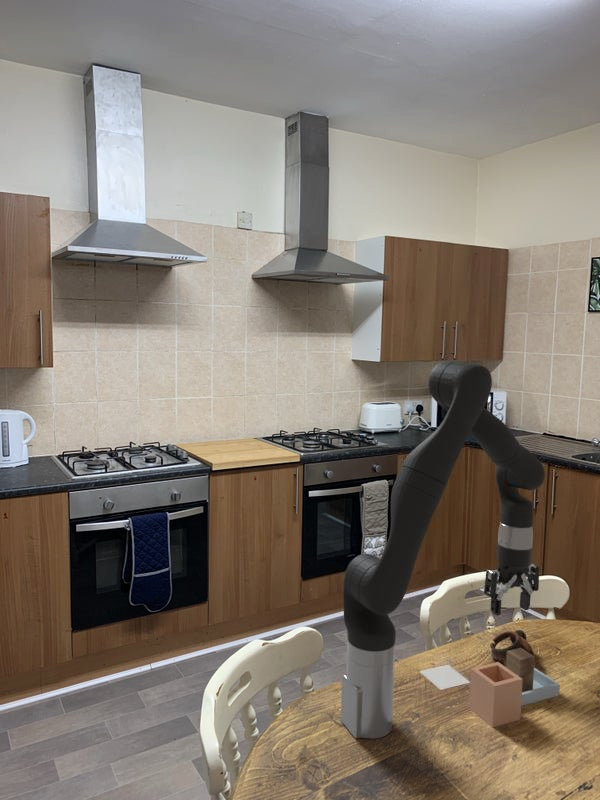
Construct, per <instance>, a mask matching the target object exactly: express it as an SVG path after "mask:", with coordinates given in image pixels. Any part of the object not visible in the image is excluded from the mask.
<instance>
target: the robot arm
mask: <svg viewBox="0 0 600 800" xmlns="http://www.w3.org/2000/svg"><path fill="white" fill-rule="evenodd" d="M429 374H430V375H429V377H428V390H429V393H430V395H431V397H432V399H433V400H434V401H435V402H436V404H438V405H439V406H441V407H442V408H443V409H444V411H446V415H445V416H444V418H443V420H442V422H441V423H440V424H439V426H438V427H437V428H436V429H435V430H434V431H433V432H432V433H431V434H430V435H429V436H428V437H426V439H424V440H423V441H422V442H421V443H420V444H419V445H417V446H416V447H414V448H413V450H411V452H409V454H408V455H407V456H406V457H405V459H404V461H403V463H402V464H401V467H400V469H399V471H398V474H397V475H396V479H395V480H394V483H393V485H392V489H391V493H390V495H391V496H390V531H389V534H388V535H389V536H388V539H387V542H386V546H385V547H384V549H383V553H382V555H381V557H378V556H376V555H374V554H370V553H362V554H359V555H357V556H355V557H354V558H353V559H352V560H351V561H350V562H349V563H348V565H347V568H346V569H345V573H344V578H343V584H342V585H343V587H342V588H343V597H342V598H343V601H342V602H343V620H344V625H345V627H346V628H345V629H346V631H347V639H346V642H347V644H346V645H347V646H346V670H345V671H346V673H344V674H342V676H341V697H340V699H341V703H340V704H341V705H340V706H341V708H340V722H342V724H343V725H344V726H345V728H346V729H347V730H348V731H349V733H350V734H351V735H352V736H353V738H354V739H359V738H364V739H371V740H372V739H373V740H375V739H379V738H384V737H385V736H387V735H389V733H391V731H392V729H393V717H394V714H393V713H394V689H395V687H394V686H395V665H396V664H395V661H396V660H395V659H396V637H397V636H396V634H397V633H396V627H395V625H394V623H393V621H392V619H390V616H389V614H392V613H393V612H394V611H395V610H396V609H397V608H398V607H400V604H401V603H402V602H403V599H404V597H405V595H406V593H407V590H408V587H409V585H410V581H411V578H412V575H413V571H414V568H415V565H416V562H417V559H418V555H419V552H420V550H421V546H422V545H423V541H424V540H425V539H424V538H425V536H426V534H427V532H428V529H429V527H430V524H431V521H432V519H433V516H434V515H435V512H436V509H437V508H438V506H439V503H440V501H441V499H442V497H443V495H444V492H445V490H446V486H447V484H448V482H449V479H450V477H451V474H452V472H453V469H454V467H455V465H456V463H457V460H458V459H459V456H460V454H461V452H462V450H463V448H464V446H465V444H466V442H467V439H468V437H469V436H470V435H471V437H473V438H474V440H476V442H477V443H478V444H479V445H480V446H481V447H480V448H482V450H483V451H484V452H485V454H486V456H488V458H489V460H491V462H492V463H493V464H495V465H496V466H495V481H496V485H497V490H498V495H499V499H500V520H499V521H500V522H499V526H498V531H497V532H498V533H497V546H496V561H497V565H498V567H497V569H496V570H491V569H490V568H488V569H486V571H485V580H484V589H483V594H484V595H485V596H487V597H489V598H490V611H491V613H492V614H494V615H495V616H501V611H502V598H503V597H504V594H506V593H508V591H509V589H513V588H520V590H521V591H520V596H519V608H520V609H522V610H523V611H528V610H530V606H531V596H532V594H533V592H538V591H539V586H540V584H539V583H540V567H539V566H538V565H536V564H534V563H532V555H533V541H534V533H533V532H534V531H533V530H534V529H533V526H534V525H533V524H534V511H535V510H534V509H535V508H534V503H533V501H531V500H530V499H529V498H527V497H525V496H523V495H522V494H521V493H520V491H519V489H522V490H526V491H535V490H537V489H539V488H540V487H542V485H543V484H544V481H545V479H546V473H545V468H544V465H543V463H542V462H541V460H540V459H539V458H538V457H537V456H536V455H534V454H533V453H532V452H531V451H529V449H527V448H526V447H524V446H523V445H522V444H520V443H519V441H518V439H517V438H516V437H515V435H514V434H513V432H512V430H511V428H509V427H508V426H507V425H506V423H504V422H503V421H502V420H501V419H500V418H499V417H497V416H496V415H494V414H493V413H492V412H491V411H489V410H488V409H486V408H485V406H486V404H487V402H488V401H489V397H490V394H491V393H492V385H493V379H492V374H491V371H490V370H489V369H488V368H487V367H486V366H483V365H480V364H475V363H468V362H460V361H454V360H453V361H452V360H449V361H448V360H447V361H442V362H439V363H438V364H436V365H435V366H433V368H432V370H431V372H430V373H429ZM501 584H502V585H501Z"/></svg>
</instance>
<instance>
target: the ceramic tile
mask: <svg viewBox="0 0 600 800" xmlns="http://www.w3.org/2000/svg"><path fill="white" fill-rule="evenodd" d="M418 672H420V674H421V675H422V676H423V677H424V678H426V679H427V680H428V681H429V682H431V684H433V685H434V686H435V687H436V688H437V689H439V690H440V691H442V690H446V689H450V688H454V687H457V686H458V687H459V686H463V685H467V684H470V680H468V679H467V678H466V677H465V676H463V675H462V674H461V673H460V672H459V671H457V670H455V668H453V666H451V665H450V664H445V665H440V666H437V667H431V668H428V669H423V670H419V671H418Z"/></svg>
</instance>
